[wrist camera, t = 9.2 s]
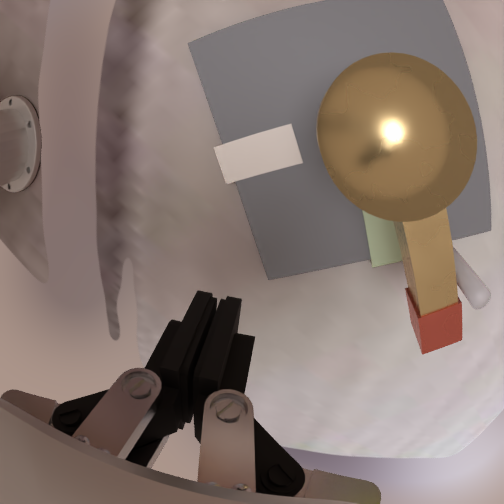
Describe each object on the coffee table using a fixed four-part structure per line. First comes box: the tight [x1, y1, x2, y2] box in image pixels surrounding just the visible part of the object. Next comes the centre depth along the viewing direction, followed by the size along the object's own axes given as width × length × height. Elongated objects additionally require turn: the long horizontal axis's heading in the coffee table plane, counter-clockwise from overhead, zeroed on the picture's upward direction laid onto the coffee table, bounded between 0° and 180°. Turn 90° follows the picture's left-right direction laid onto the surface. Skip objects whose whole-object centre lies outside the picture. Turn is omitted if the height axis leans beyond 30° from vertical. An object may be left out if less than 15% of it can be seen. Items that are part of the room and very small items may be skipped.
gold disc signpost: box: [316, 52, 477, 354], centre depth 14 cm, size 16×8×4 cm, turn 24°
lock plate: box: [188, 0, 491, 309], centre depth 17 cm, size 23×23×12 cm
